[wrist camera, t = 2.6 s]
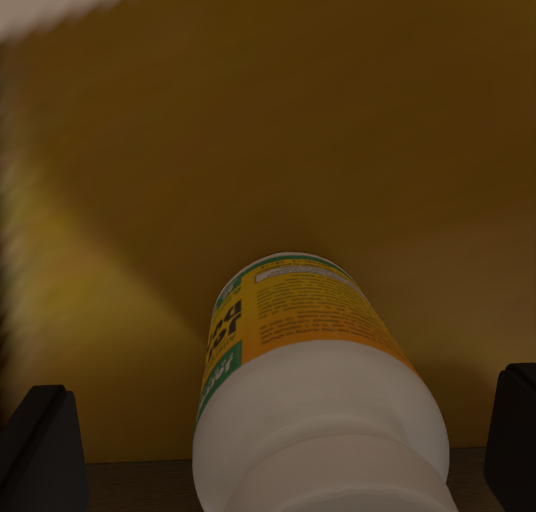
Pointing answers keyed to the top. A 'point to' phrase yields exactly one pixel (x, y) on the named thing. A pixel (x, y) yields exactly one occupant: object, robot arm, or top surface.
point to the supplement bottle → (312, 401)
